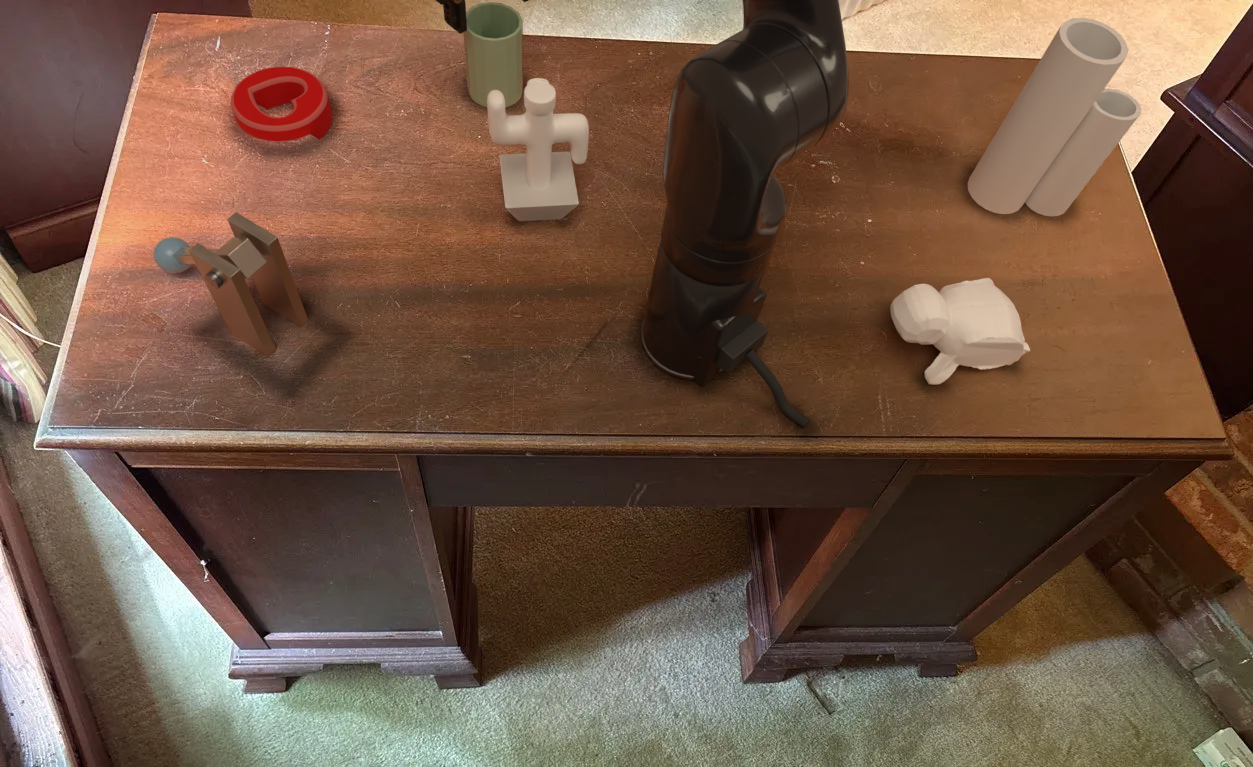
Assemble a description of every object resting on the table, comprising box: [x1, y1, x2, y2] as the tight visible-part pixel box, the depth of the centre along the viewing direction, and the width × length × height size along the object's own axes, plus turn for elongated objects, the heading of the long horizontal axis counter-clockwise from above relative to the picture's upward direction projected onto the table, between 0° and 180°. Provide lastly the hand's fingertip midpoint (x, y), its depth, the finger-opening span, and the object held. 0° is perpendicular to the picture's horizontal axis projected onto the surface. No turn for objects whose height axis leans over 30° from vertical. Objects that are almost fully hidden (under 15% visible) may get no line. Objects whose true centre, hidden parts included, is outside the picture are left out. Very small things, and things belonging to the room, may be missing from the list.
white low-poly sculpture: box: [889, 277, 1031, 386], centre depth 83 cm, size 9×8×15 cm
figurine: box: [486, 77, 590, 222], centre depth 84 cm, size 7×9×15 cm
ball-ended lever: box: [153, 236, 267, 280], centre depth 75 cm, size 16×3×3 cm
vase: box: [966, 17, 1142, 217], centre depth 90 cm, size 11×7×20 cm, turn 93°
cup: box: [463, 1, 524, 109], centre depth 95 cm, size 6×6×9 cm
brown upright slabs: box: [189, 211, 309, 358], centre depth 74 cm, size 10×7×13 cm
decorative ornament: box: [230, 66, 334, 142], centre depth 92 cm, size 10×10×3 cm
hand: (490, 12), depth 91 cm, fingers open, 8 cm apart
